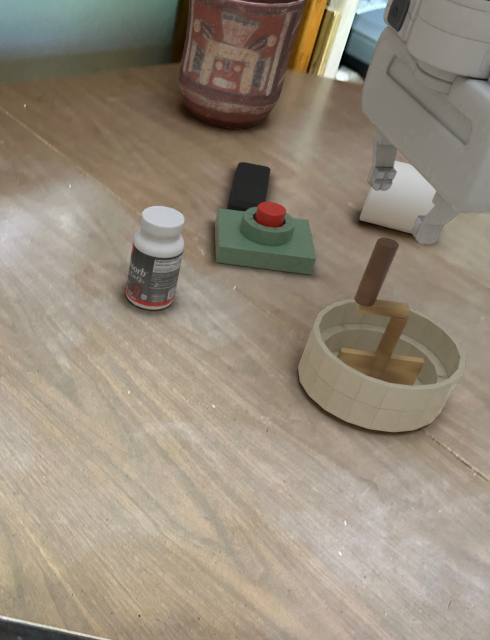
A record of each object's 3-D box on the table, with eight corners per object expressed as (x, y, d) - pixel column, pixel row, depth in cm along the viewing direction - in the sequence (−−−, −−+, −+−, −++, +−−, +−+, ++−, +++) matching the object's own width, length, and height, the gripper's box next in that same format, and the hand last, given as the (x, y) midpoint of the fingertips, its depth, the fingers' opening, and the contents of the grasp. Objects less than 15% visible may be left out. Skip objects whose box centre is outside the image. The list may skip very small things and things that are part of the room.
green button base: (303, 235, 103) (312, 206, 100) (310, 274, 96) (320, 245, 93) (214, 223, 103) (221, 194, 100) (215, 262, 96) (222, 232, 93)
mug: (428, 249, 104) (455, 190, 98) (355, 229, 105) (377, 170, 99) (435, 211, 111) (461, 155, 105) (367, 194, 113) (388, 137, 107)
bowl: (424, 355, 87) (447, 308, 83) (453, 445, 77) (481, 398, 73) (291, 337, 87) (307, 290, 83) (303, 425, 77) (322, 377, 73)
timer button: (281, 216, 98) (285, 203, 97) (283, 230, 96) (287, 217, 94) (253, 213, 98) (257, 199, 97) (255, 227, 96) (258, 213, 94)
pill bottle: (117, 287, 91) (128, 205, 83) (161, 281, 92) (175, 200, 85) (137, 314, 87) (150, 231, 80) (181, 308, 89) (198, 226, 82)
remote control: (235, 172, 115) (226, 214, 105) (238, 160, 114) (229, 201, 103) (268, 178, 114) (261, 221, 104) (271, 166, 113) (265, 208, 103)
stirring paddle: (410, 378, 82) (475, 249, 71) (414, 389, 81) (481, 260, 69) (323, 366, 82) (375, 235, 71) (326, 378, 80) (378, 246, 69)
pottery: (159, 92, 132) (178, -35, 118) (255, 95, 135) (284, -29, 121) (186, 137, 121) (210, 2, 107) (290, 138, 124) (327, 7, 110)
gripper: (590, 89, 51) (488, 276, 62) (449, -7, 64) (384, 161, 75) (506, 85, 50) (417, 276, 61) (380, -12, 63) (324, 160, 74)
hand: (398, 212), depth 68 cm, fingers open, 8 cm apart
